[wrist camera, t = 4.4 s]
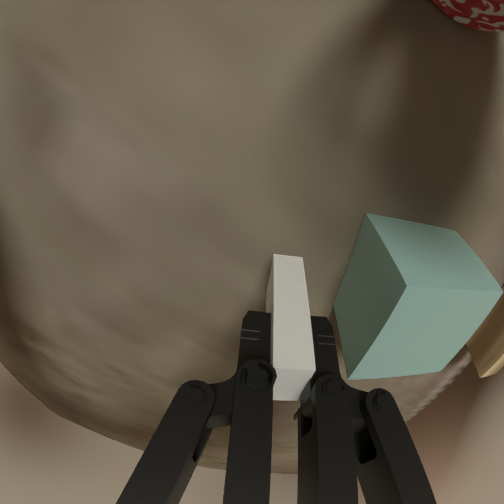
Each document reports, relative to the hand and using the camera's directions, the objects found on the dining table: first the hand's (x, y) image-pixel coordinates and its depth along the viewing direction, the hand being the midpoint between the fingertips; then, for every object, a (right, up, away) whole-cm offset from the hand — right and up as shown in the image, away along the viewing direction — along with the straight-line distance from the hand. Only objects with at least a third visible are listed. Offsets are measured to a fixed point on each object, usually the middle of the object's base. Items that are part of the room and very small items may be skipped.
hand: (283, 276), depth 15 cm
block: (+8, 0, +1) cm, 8 cm away
